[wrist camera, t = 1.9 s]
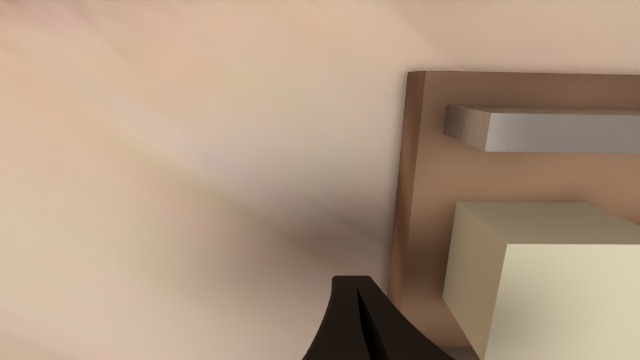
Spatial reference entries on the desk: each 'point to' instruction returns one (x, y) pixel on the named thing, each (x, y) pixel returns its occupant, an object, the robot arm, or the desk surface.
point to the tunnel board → (491, 175)
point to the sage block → (545, 281)
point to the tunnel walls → (541, 138)
